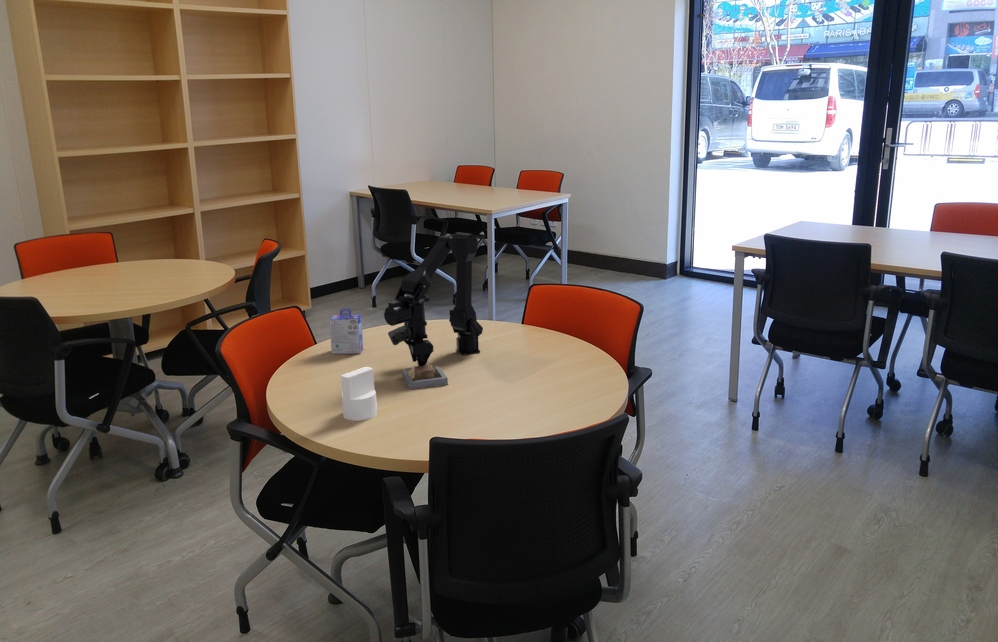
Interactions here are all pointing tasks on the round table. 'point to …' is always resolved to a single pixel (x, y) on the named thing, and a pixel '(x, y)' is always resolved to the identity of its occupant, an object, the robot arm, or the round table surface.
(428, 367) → the walnut block
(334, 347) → the ink cartridge box
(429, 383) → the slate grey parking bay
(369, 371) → the cylinder with rectangular tab
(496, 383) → the round table surface
